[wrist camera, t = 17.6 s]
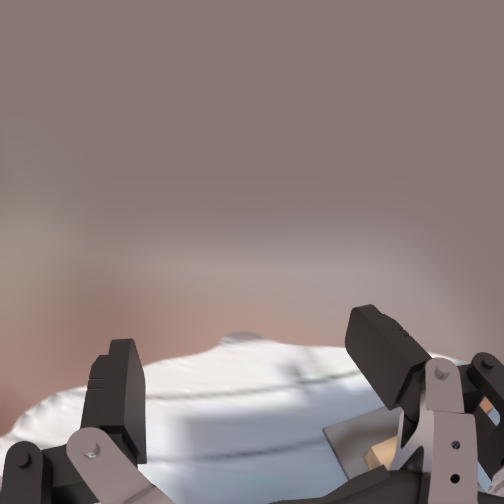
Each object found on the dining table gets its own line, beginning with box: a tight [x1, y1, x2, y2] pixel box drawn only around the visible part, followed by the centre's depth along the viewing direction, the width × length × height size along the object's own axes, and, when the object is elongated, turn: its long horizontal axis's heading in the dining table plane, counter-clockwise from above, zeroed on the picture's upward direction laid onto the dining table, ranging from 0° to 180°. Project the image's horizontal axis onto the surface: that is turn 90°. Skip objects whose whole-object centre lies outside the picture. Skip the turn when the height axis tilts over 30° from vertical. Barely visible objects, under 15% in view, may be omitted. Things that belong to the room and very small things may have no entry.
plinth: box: [323, 406, 486, 493], centre depth 26 cm, size 24×16×4 cm, turn 14°
